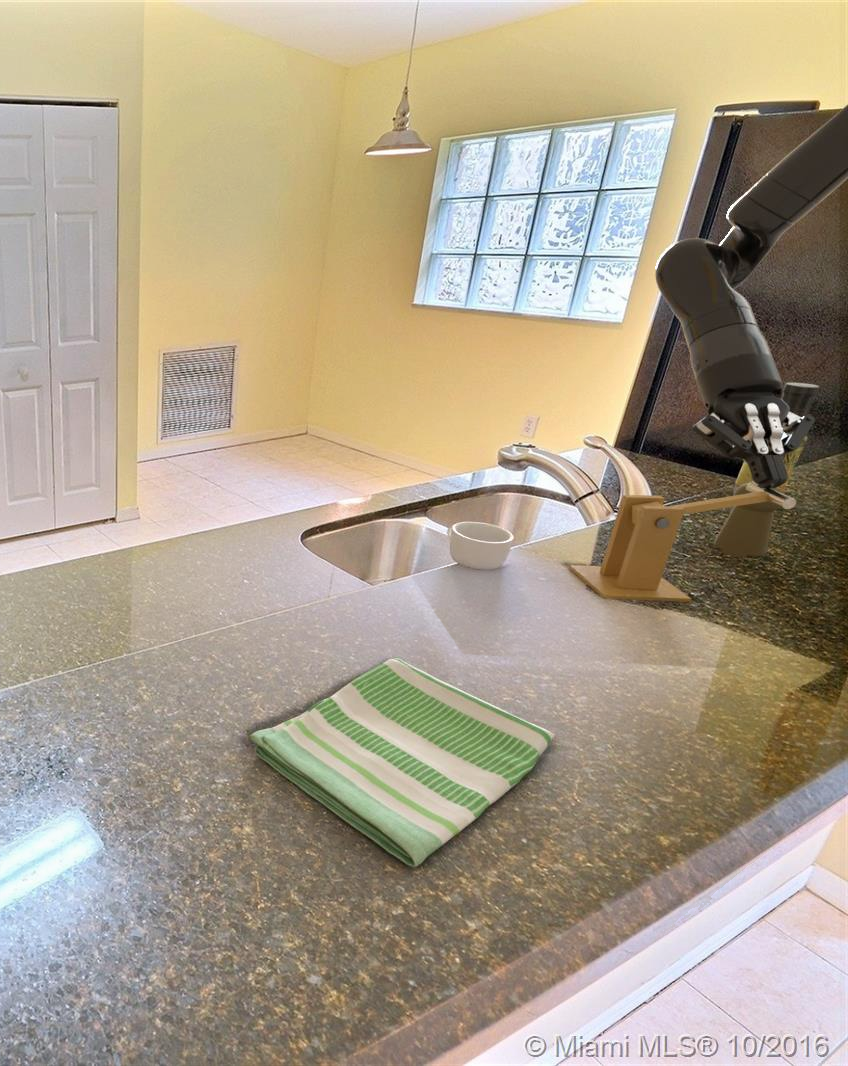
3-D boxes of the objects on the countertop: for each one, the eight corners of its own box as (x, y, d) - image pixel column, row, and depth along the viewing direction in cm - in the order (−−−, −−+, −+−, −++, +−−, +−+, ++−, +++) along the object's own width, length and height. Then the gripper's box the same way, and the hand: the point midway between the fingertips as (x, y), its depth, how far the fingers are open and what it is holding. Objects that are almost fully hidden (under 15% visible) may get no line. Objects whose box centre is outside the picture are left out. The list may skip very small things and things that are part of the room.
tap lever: (758, 494, 91) (760, 477, 90) (795, 511, 85) (797, 493, 84) (622, 516, 94) (623, 500, 94) (650, 534, 89) (650, 517, 88)
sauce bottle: (747, 503, 121) (791, 388, 113) (722, 491, 127) (762, 380, 119) (791, 504, 120) (839, 388, 112) (764, 491, 126) (807, 380, 118)
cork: (711, 544, 107) (736, 475, 103) (765, 555, 103) (794, 484, 99) (706, 556, 103) (732, 486, 99) (763, 568, 99) (792, 495, 95)
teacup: (518, 573, 101) (527, 539, 99) (472, 580, 99) (480, 546, 97) (465, 546, 110) (472, 514, 108) (423, 552, 108) (429, 520, 106)
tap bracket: (645, 576, 98) (674, 490, 93) (688, 608, 90) (722, 515, 85) (567, 573, 100) (591, 489, 95) (601, 604, 92) (629, 513, 87)
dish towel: (242, 749, 69) (244, 727, 68) (386, 669, 80) (390, 649, 79) (413, 875, 55) (419, 849, 54) (559, 757, 66) (566, 734, 65)
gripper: (698, 351, 91) (737, 471, 84) (814, 350, 89) (863, 472, 83) (658, 384, 98) (692, 497, 91) (765, 383, 96) (807, 499, 90)
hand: (773, 485), depth 87 cm, fingers closed
